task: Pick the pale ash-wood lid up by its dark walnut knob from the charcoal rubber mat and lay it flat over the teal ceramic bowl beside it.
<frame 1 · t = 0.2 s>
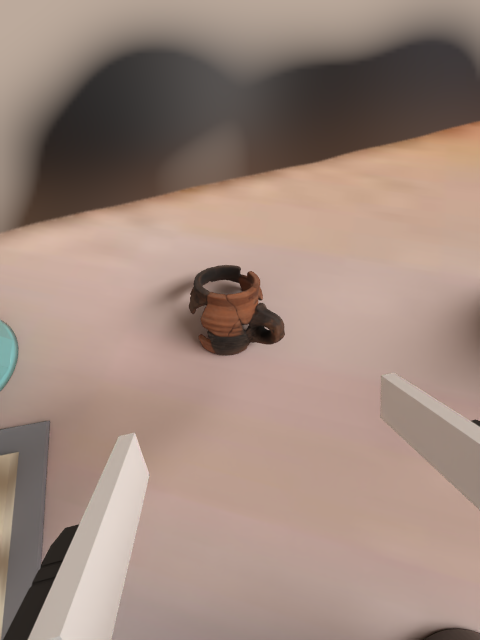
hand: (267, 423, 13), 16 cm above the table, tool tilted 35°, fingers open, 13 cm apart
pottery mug: (235, 322, 32), on the table
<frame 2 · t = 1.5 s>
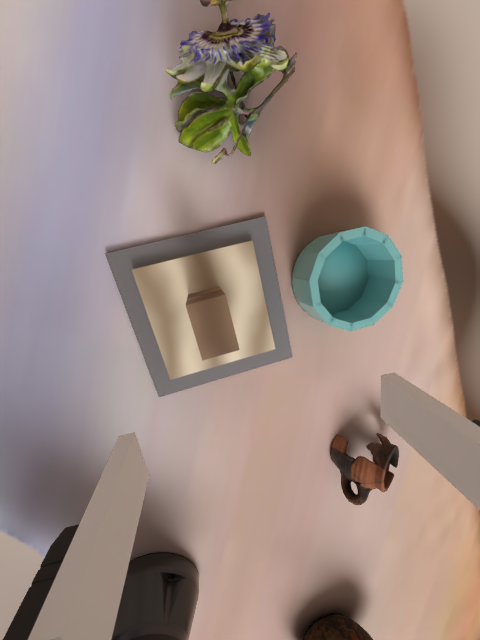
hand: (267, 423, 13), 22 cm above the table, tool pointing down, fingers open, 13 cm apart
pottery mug: (351, 450, 44), on the table
mat: (209, 310, 33), on the table
passion flower: (226, 112, 28), on the table
bowl: (331, 277, 35), on the table
glass bottle: (325, 627, 55), on the table
lid: (209, 311, 33), resting on mat
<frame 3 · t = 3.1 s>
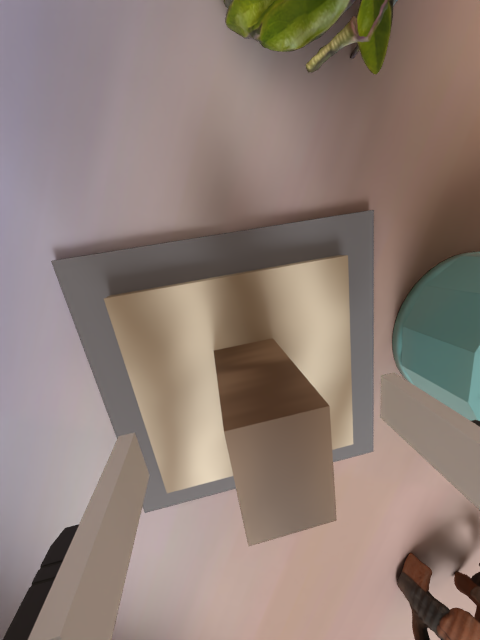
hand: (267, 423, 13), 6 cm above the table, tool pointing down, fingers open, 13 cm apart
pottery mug: (425, 569, 29), on the table
mat: (246, 373, 18), on the table
bowl: (458, 326, 20), on the table
lid: (247, 377, 18), resting on mat
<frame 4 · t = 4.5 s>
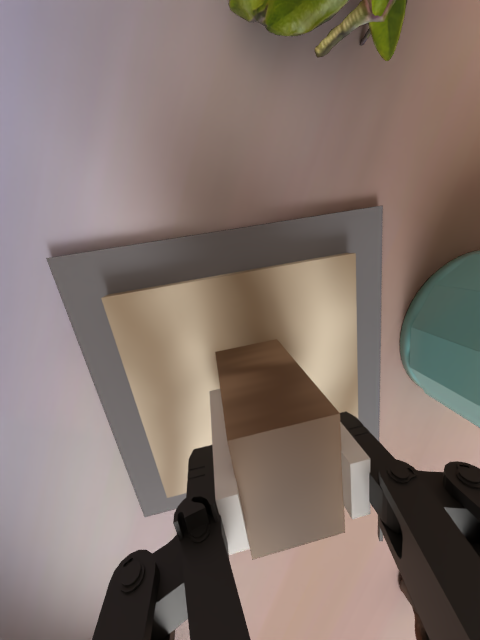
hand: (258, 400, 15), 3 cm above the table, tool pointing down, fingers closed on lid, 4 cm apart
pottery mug: (427, 571, 29), on the table
mat: (249, 375, 18), on the table
bowl: (468, 327, 20), on the table
lid: (250, 378, 17), resting on mat, touching gripper
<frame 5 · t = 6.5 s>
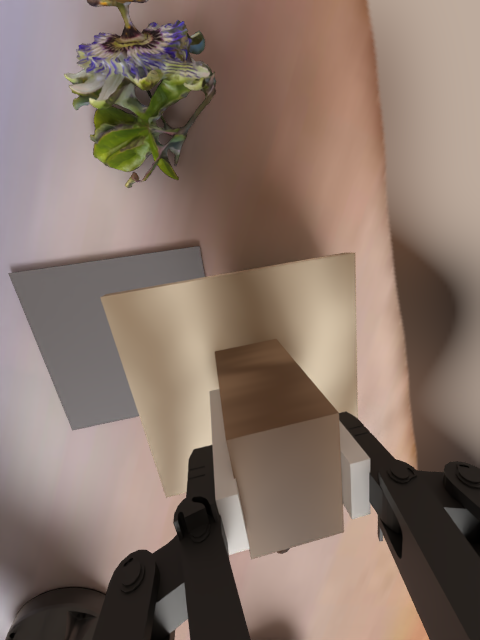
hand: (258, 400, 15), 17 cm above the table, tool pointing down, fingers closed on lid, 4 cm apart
mat: (133, 342, 30), on the table
passion flower: (157, 127, 25), on the table
lid: (249, 378, 17), point 15 cm above the table, touching gripper
when the fingers open (10 cm above the table, at t = 8.7 s): lid drops 1 cm, resting on bowl.
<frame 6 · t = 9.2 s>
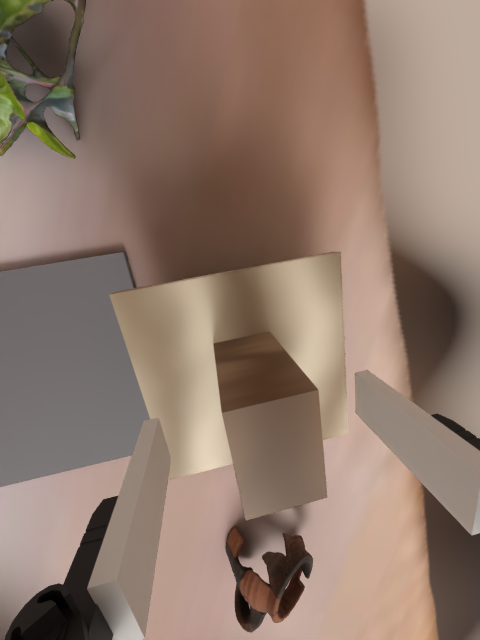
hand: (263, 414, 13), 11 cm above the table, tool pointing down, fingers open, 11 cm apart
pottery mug: (258, 541, 33), on the table
mat: (46, 380, 23), on the table
passion flower: (45, 82, 17), on the table
lid: (246, 369, 19), point 6 cm above the table, touching bowl
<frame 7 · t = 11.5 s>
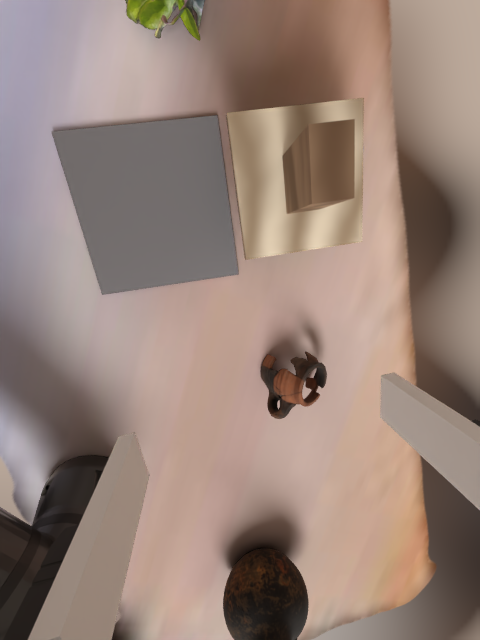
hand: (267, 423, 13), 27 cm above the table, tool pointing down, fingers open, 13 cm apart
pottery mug: (284, 373, 44), on the table
mat: (156, 211, 33), on the table
glass bottle: (259, 560, 58), on the table
lid: (298, 185, 29), point 6 cm above the table, touching bowl
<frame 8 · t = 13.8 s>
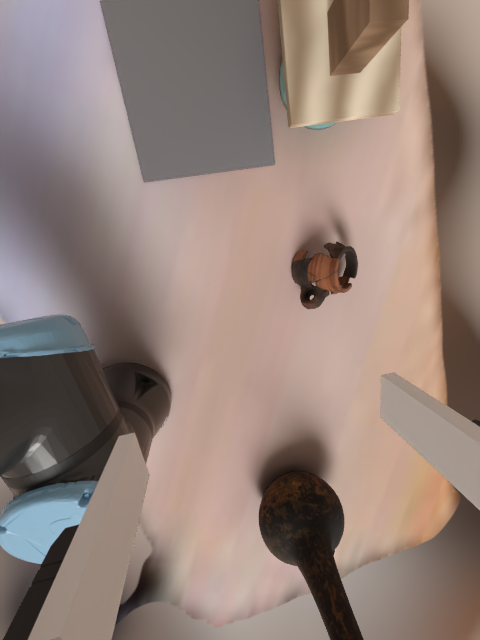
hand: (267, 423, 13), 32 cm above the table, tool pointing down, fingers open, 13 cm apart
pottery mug: (313, 274, 44), on the table
mat: (197, 93, 34), on the table
bowl: (318, 81, 36), on the table
glass bottle: (289, 487, 58), on the table
lid: (339, 50, 30), point 6 cm above the table, touching bowl
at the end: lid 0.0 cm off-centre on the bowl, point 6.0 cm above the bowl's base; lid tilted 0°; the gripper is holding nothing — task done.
